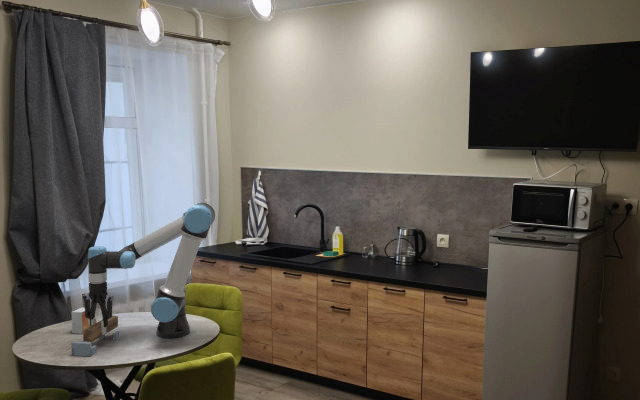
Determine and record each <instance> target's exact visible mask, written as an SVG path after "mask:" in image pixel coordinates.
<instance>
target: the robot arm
mask: <svg viewBox="0 0 640 400" xmlns="http://www.w3.org/2000/svg"><path fill="white" fill-rule="evenodd" d="M215 219H216V212H215V209H214V208H213V207H212V206H211V205H210V204H209V203H206V202H198V203H196V204H194V205H192V206H190V207H189V208H188V209H187V210H186V211H185V212H184V213H182V216H181V217H179V218H177V219H175V220H173V221H172V222H169V223H168V224H166V225H164V226H162V227H161V228H160V227H159V228H158V229H156V230H154V231H153V232H151V233H149V234H147V235H146V236H144V237H141V238H139V239H138V240H136V241H134V242H132V243H131V244H129V245H126V246H124V247H123V248H122V249H120V250H118V251H117V250H115V251H113V250H112V251H110V250H109V251H108V250H107V247H106V246H102V245H97V246H91V247H89V248H88V251H87V265H88V266H87V269H88V291H89V293H88V294H85V295H83V296H82V300H83V302H84V304H83V305H84V308H85V317H86V318H89V319H90V326H91V325H93V324H95V323H97V317H96V316H95V315H96V310H97V305H99V307H100V311H101V316H102V319H101V320H100V321H101V327H102V335H104V334H105V335H106V334H107V333H106V327H107V326H108V319H110V318H111V317H112V316H113V300H114V296H113V295H109V294H108V273H107V272H108V270H107V269H114V270H115V269H116V270H117V269H124V270H127V269H133V268H134V267H135V265H136V261H137V260H138V259H140V258H142V257H144V256H146V255H148V254H149V253H152V252H153V251H155V250H157V249H159V248H161V247H162V246H163V247H164V246H165V245H166V244H168V243H170V242H172V241H174V240H176V239H178V238H179V237H181V238H180V241H179V243H178V247H177V250H176V252H175V255H174V257H173V261H172V262H171V266H170V269H169V271H168V274H167V276H166V279H165V283H164V284H163V285H160V286H159V289H158V291H157V294H156V297H155V299H154V300H153V302H152V304H151V307H150V311H151V312H150V313H151V315H152V317H153V318H154V320H156V321H158V324H157V328H156V336H157V337H160V338H163V339H176V338H181V337H184V336H187V335H189V334H190V333H191V332H190V331H191V327H190V324H189V320H188V317H187V316H186V315H187V312H186V311H187V307H186V305H187V304H186V301H187V300H186V292H187V291H186V284H187V282H188V278H189V275H190V274H191V271H192V268H193V264H194V263H195V259H196V257H197V255H198V251H199V248H200V246H201V244H202V241H204V240H206V239H207V237H208V235H209V232H210V229H211V226H212V224H213V223H214V222H215ZM90 308H91V310H90ZM189 332H190V333H189ZM188 333H189V334H188Z"/></svg>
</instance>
